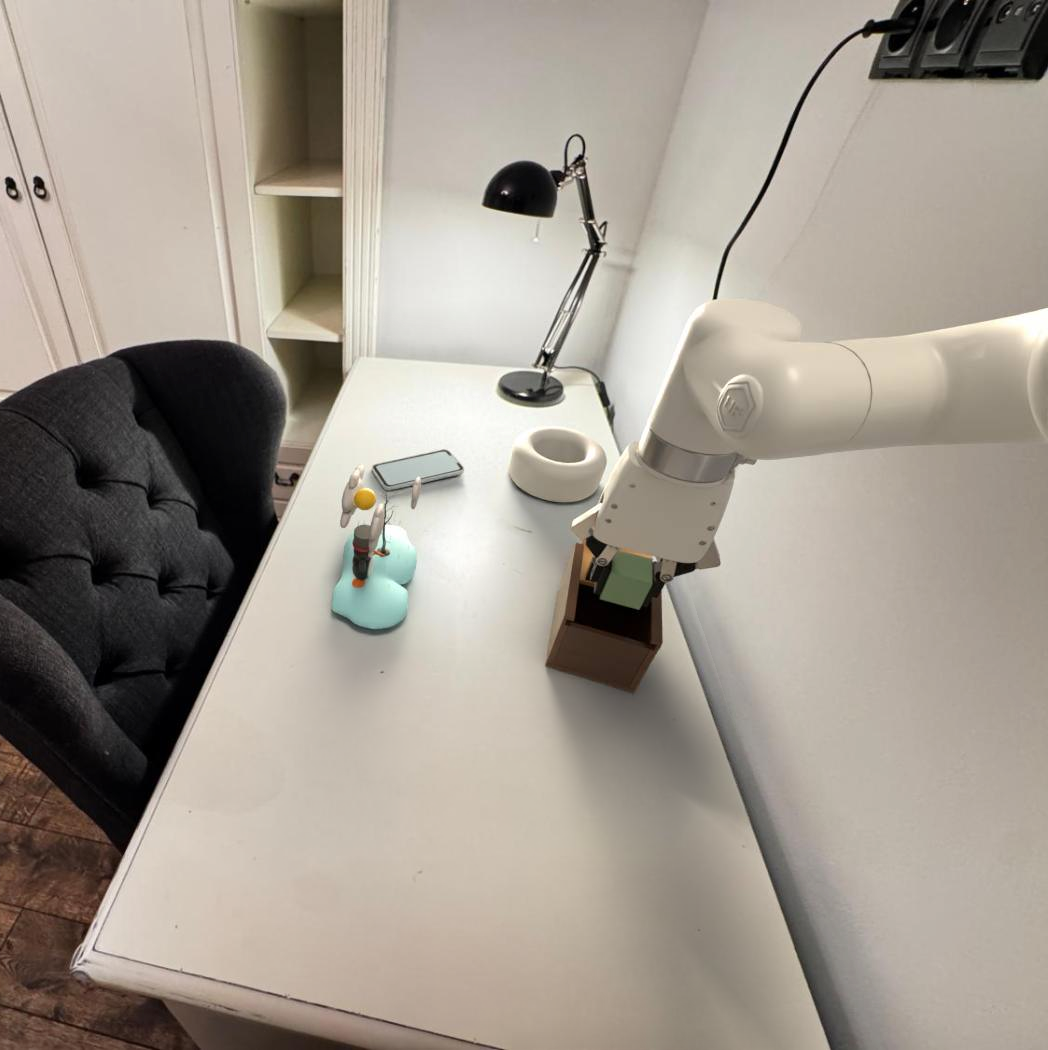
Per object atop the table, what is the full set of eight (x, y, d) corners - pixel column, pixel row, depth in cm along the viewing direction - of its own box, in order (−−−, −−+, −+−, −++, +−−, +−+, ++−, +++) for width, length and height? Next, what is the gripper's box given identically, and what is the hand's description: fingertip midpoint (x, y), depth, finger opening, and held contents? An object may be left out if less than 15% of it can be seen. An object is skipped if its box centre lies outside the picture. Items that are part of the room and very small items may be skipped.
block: (639, 584, 63) (652, 558, 60) (639, 610, 60) (652, 584, 57) (601, 574, 64) (612, 548, 61) (599, 599, 61) (611, 573, 58)
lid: (650, 602, 66) (660, 581, 64) (574, 582, 68) (582, 561, 66) (650, 538, 74) (659, 518, 72) (583, 522, 77) (590, 502, 74)
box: (633, 693, 66) (662, 643, 60) (544, 665, 68) (564, 615, 62) (635, 613, 75) (661, 563, 69) (557, 592, 78) (575, 542, 72)
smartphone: (369, 465, 99) (447, 448, 103) (369, 469, 100) (446, 452, 103) (385, 488, 94) (466, 470, 98) (385, 493, 95) (465, 474, 98)
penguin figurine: (402, 641, 71) (411, 552, 61) (319, 625, 73) (316, 537, 63) (421, 537, 86) (432, 453, 76) (353, 527, 88) (354, 443, 78)
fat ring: (513, 448, 105) (520, 416, 101) (598, 464, 101) (609, 431, 97) (501, 494, 94) (509, 460, 90) (596, 514, 90) (609, 480, 86)
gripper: (788, 448, 50) (702, 589, 62) (590, 411, 55) (546, 549, 67) (804, 496, 45) (707, 640, 57) (583, 451, 50) (537, 593, 62)
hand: (620, 590), depth 62 cm, fingers closed on block, 4 cm apart
